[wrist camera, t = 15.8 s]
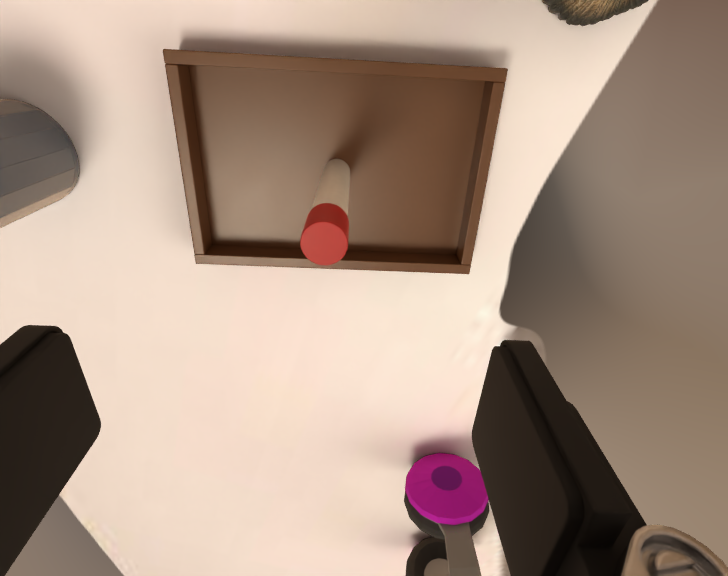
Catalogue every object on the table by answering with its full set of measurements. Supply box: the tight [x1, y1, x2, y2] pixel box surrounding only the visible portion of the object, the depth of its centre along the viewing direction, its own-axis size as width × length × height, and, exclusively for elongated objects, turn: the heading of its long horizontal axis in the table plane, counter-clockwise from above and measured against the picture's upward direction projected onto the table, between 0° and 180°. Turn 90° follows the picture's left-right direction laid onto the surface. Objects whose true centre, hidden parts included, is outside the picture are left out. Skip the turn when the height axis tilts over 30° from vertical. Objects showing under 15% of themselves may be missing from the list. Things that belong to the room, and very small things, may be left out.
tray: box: [163, 49, 508, 274], centre depth 31 cm, size 15×22×3 cm
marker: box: [300, 159, 350, 265], centre depth 25 cm, size 2×2×14 cm
